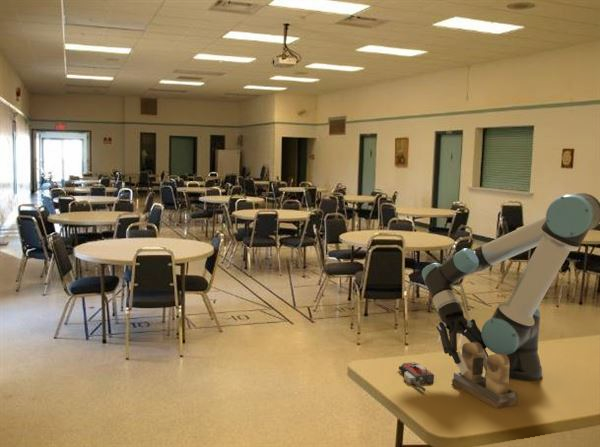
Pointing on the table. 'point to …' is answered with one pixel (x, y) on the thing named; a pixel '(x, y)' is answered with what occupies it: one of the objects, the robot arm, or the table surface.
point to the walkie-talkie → (416, 374)
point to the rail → (491, 383)
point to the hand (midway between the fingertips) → (477, 371)
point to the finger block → (473, 360)
